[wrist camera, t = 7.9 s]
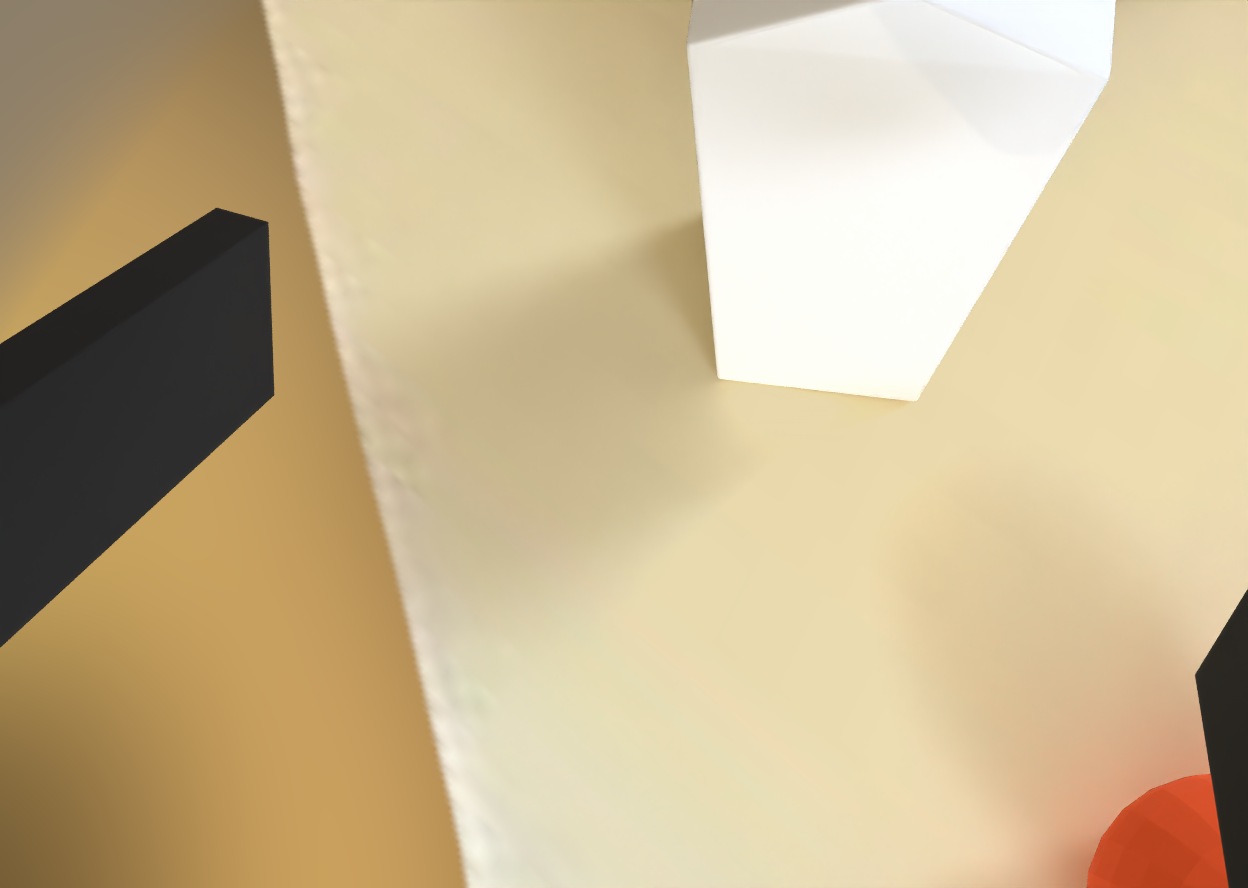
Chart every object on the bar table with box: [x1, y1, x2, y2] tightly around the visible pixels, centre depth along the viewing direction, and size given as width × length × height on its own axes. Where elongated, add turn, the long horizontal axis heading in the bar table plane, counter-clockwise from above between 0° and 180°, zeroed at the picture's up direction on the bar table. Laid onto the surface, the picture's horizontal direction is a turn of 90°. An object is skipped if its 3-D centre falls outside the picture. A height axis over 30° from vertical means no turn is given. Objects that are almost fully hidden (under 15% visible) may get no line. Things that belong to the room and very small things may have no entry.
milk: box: [687, 0, 1116, 401], centre depth 25 cm, size 6×6×22 cm
